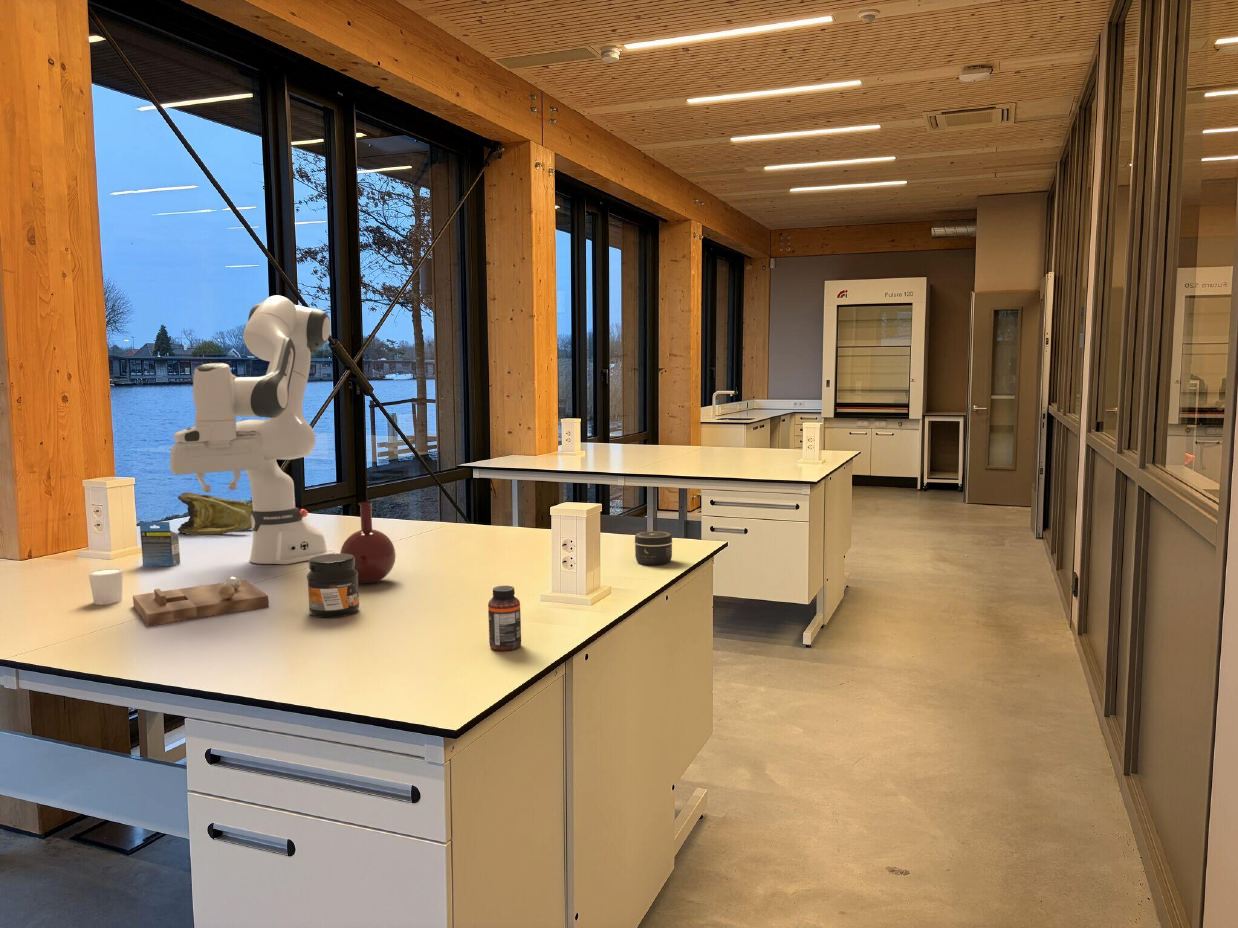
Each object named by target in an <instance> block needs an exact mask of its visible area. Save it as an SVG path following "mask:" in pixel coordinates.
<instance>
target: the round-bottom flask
mask: <svg viewBox="0 0 1238 928" xmlns="http://www.w3.org/2000/svg"><path fill="white" fill-rule="evenodd" d="M372 504H373V501H366V500H365V501H359V502H358V505H359V506H360V507H359V508H360V510H359V511H360V530H358V531H355V532H353V533H352V534H351V535H349V536H348V537H347V538H346V539H345V541H344V542H343V544H342V545H341V548H340V553H339V554H351V555H353V556H355V566H354V567H355V568H356V569H357V571H358V583H360V584H373V583H376V582H379V581H381V580H383V579H384V578H386V577H387V576H388V575H389V574H390V572H391V571H392V570H393V568H394V565H395V564H396V563H395V562H396V556H397V555H396V548H395V545H394V543H393V542H392V540H391V538H390V537H388V535H386V534H385V533H383V532H382V531H379V530H376V529H373V517H372V515H373V513H372Z"/></svg>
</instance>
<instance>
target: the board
mask: <svg viewBox="0 0 1238 928" xmlns="http://www.w3.org/2000/svg"><path fill="white" fill-rule="evenodd" d="M239 580H240V582H241V585H240V587H239V588H238V589H237V590H235V594H234V596H233V597H232V598H230V599H227V600H225V599H222V598H221V597H220V596H219V590H220V588H221V587H222V586H224V585H225V583H226V581H225V582H218V583H213V584H205V585H204V584H203V585H197V586H192V587H191V586H190V587H184V588H177V589H176V588H175V589H168V590H161V589H160V588H155V589H154V590H153V591H154V592H147V593H142V594H134V595H132V604H133V605H132V606H133V607H135V608H134V609H135V610H136V612H137V613H138V615H139V616H140V615H141V616H142V617H141V616H140V617H141V619H143V621H144V622H145V623H146V625H147V624H148V625H147V626H148V627H151V626H150V625H152V626H155V625H154V624H159V625H162V624H161V623H165V624H170V623H169V622H171V623H174V622H173V621H177V622H181V621H180V620H183V621H186V620H185V619H190V620H194V619H193V618H196V619H201V617H202V618H206V617H205V616H208V617H213V616H212V615H214V616H219V614H221V615H225V614H224V613H227V614H232V612H233V613H238V612H244V611H243V610H245V611H251V610H257V609H263V608H269V607H270V605H269V603H270V602H269V600H270V599H269V595H268V594H267V593H265V592H263V591H262V590H261V589H260V588H258V587H257V586H255V585H254V584H252V583H251V582H250V581H248V580H247V579H239ZM250 609H251V610H250Z"/></svg>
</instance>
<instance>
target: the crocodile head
mask: <svg viewBox="0 0 1238 928" xmlns="http://www.w3.org/2000/svg"><path fill="white" fill-rule="evenodd" d="M177 500H179V501H181V503H183V504H185V505H187V507H186V509H187V513H188V516H189V518H188V520H187V521H185V522H184V523H181V524H180V526H179V527H178V528H177V531H178V532H179V533H180V532H183V533H188V534H216V535H223V534H229V533H231V532H236V531H249V530H251V529H252V526H251V511H252V510H253V505H252V502H250V501H245V500H233V499H232V500H231V499H229V498H222V497H217V496H213V495H207V494H198V493H193V492H183V493H181V494H180V495H178V497H177ZM183 533H182V534H183ZM188 534H187V535H188Z"/></svg>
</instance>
